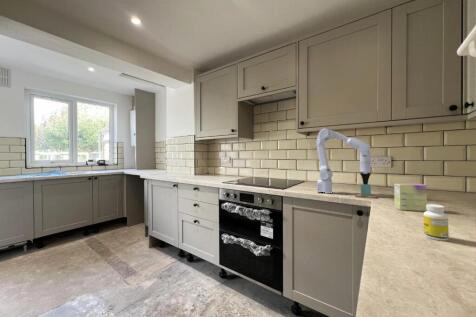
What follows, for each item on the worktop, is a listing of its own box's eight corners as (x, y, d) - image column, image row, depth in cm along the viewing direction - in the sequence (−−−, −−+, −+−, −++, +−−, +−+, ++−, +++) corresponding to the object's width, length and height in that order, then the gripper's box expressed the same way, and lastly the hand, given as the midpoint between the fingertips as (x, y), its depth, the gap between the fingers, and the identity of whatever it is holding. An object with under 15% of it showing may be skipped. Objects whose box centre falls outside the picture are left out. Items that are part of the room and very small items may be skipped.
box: (419, 208, 96) (419, 183, 96) (427, 211, 90) (426, 185, 90) (394, 207, 99) (393, 183, 99) (399, 210, 93) (399, 184, 93)
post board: (355, 197, 125) (355, 188, 125) (355, 194, 134) (355, 186, 134) (376, 198, 119) (376, 189, 119) (375, 195, 128) (375, 187, 128)
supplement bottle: (423, 232, 66) (422, 202, 66) (447, 236, 62) (446, 205, 62) (424, 238, 62) (424, 206, 62) (450, 242, 58) (449, 208, 58)
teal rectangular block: (360, 195, 125) (360, 184, 125) (360, 193, 130) (360, 183, 130) (370, 196, 123) (370, 185, 123) (370, 194, 127) (370, 184, 127)
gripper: (373, 163, 118) (373, 186, 118) (372, 162, 130) (372, 183, 130) (359, 163, 122) (359, 185, 122) (359, 162, 134) (359, 182, 134)
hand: (365, 184), depth 126 cm, fingers closed, pressing on teal rectangular block
